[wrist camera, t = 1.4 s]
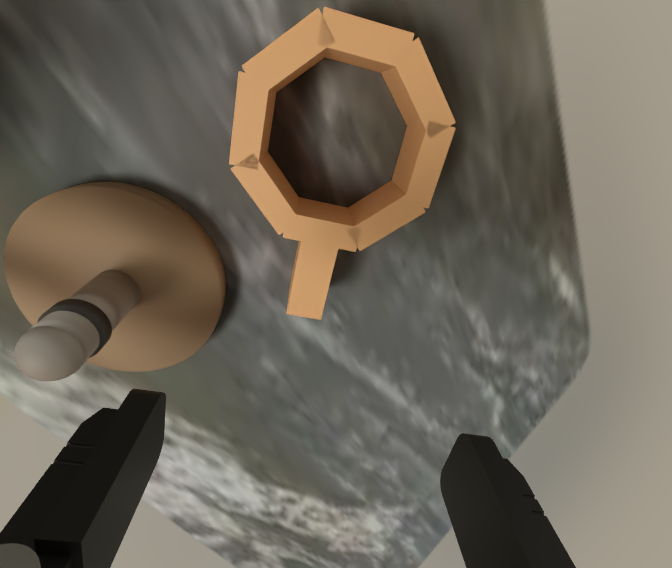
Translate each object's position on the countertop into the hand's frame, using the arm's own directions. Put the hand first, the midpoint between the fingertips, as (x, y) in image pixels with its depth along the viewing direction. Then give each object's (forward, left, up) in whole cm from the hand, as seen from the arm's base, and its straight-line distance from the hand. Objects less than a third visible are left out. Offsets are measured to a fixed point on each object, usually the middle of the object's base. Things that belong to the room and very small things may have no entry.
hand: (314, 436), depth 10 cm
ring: (-5, 0, -13) cm, 14 cm away
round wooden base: (+3, -10, -13) cm, 17 cm away
